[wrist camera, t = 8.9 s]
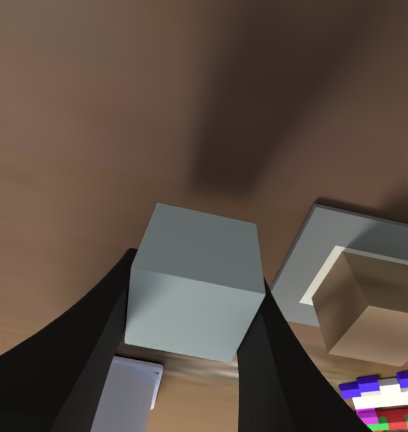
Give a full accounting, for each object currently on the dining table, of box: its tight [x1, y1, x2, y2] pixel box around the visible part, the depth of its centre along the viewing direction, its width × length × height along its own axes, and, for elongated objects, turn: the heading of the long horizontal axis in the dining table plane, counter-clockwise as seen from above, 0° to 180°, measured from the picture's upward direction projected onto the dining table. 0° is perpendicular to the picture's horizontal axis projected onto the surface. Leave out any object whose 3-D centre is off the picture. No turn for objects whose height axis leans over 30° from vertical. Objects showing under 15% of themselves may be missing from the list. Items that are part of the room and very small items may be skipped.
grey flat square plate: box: [270, 203, 408, 327], centre depth 19 cm, size 10×10×1 cm
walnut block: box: [311, 251, 408, 367], centre depth 17 cm, size 4×4×4 cm
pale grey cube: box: [125, 202, 266, 363], centre depth 12 cm, size 4×4×4 cm
